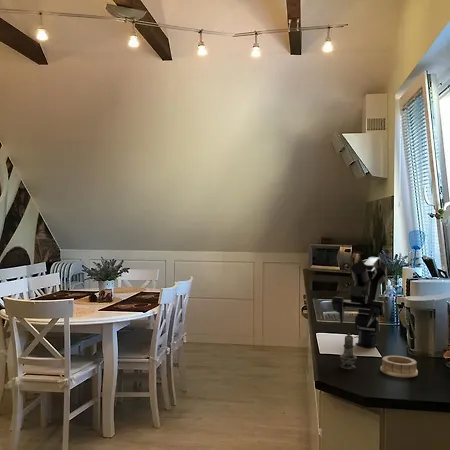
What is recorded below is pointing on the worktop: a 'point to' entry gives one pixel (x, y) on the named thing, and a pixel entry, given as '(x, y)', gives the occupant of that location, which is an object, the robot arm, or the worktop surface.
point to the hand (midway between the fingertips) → (353, 324)
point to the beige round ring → (399, 366)
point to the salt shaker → (348, 353)
